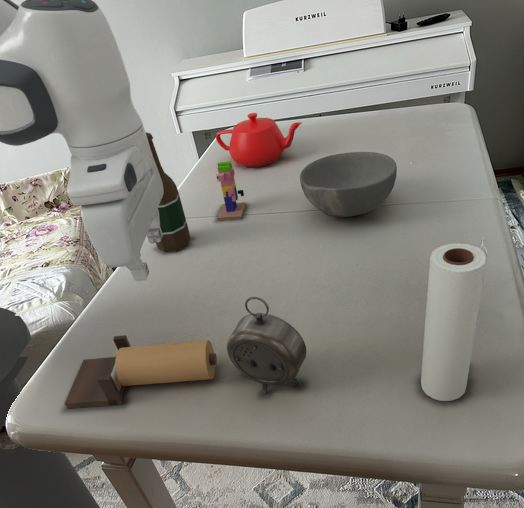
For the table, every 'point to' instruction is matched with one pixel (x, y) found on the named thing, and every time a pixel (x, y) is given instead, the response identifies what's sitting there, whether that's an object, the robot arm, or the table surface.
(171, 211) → the beer bottle
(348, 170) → the bowl
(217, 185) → the table surface
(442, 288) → the paper towel roll
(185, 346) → the tan cylinder
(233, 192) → the figurine
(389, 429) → the table surface
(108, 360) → the stand
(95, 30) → the robot arm
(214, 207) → the table surface
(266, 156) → the teapot
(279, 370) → the alarm clock
